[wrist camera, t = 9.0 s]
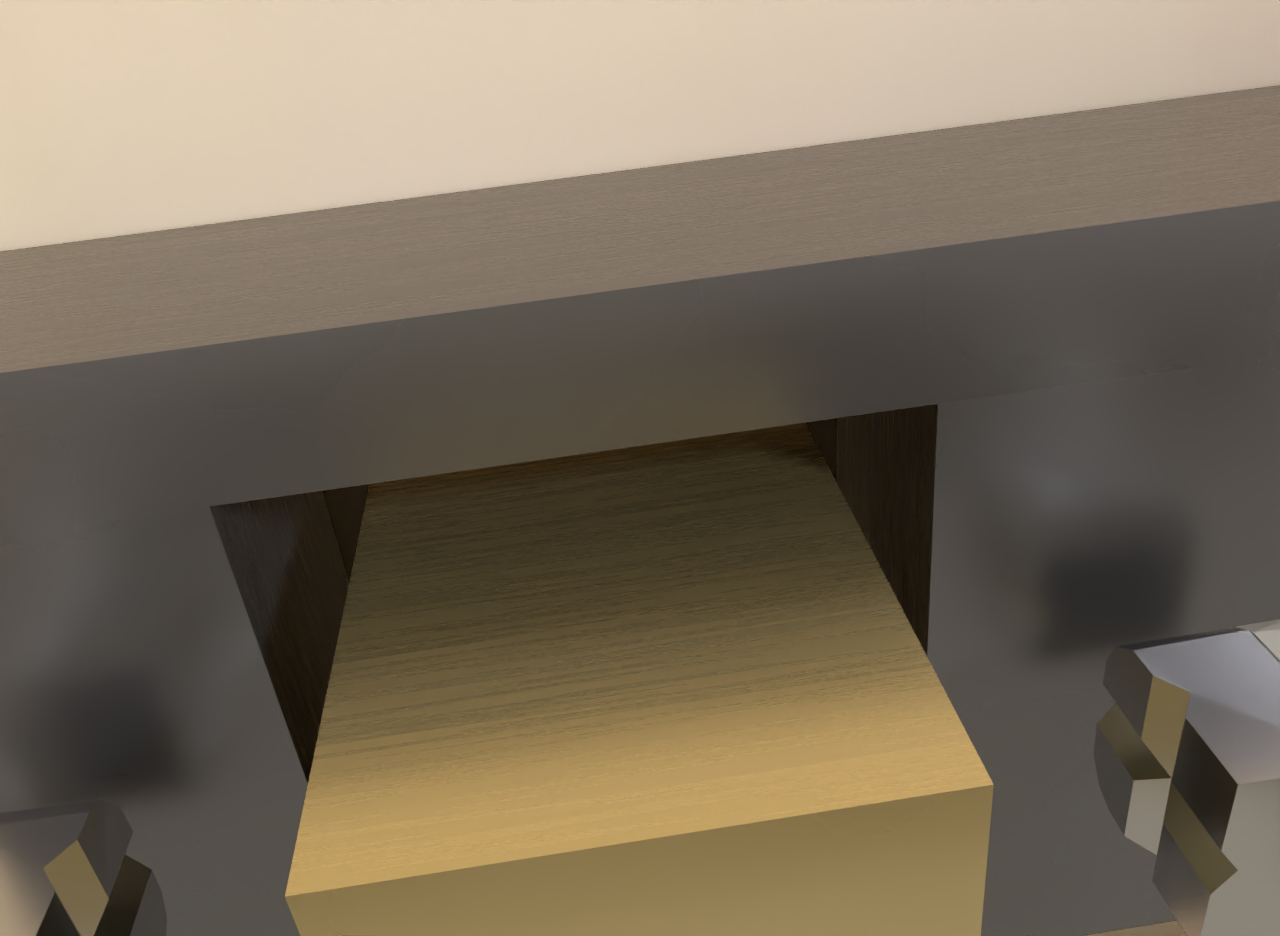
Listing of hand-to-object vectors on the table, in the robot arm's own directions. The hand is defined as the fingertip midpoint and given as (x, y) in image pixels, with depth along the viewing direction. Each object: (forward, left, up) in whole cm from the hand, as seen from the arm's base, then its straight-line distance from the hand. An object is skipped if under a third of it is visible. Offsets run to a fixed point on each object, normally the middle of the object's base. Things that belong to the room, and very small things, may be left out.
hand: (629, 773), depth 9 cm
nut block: (0, 0, -4) cm, 4 cm away
